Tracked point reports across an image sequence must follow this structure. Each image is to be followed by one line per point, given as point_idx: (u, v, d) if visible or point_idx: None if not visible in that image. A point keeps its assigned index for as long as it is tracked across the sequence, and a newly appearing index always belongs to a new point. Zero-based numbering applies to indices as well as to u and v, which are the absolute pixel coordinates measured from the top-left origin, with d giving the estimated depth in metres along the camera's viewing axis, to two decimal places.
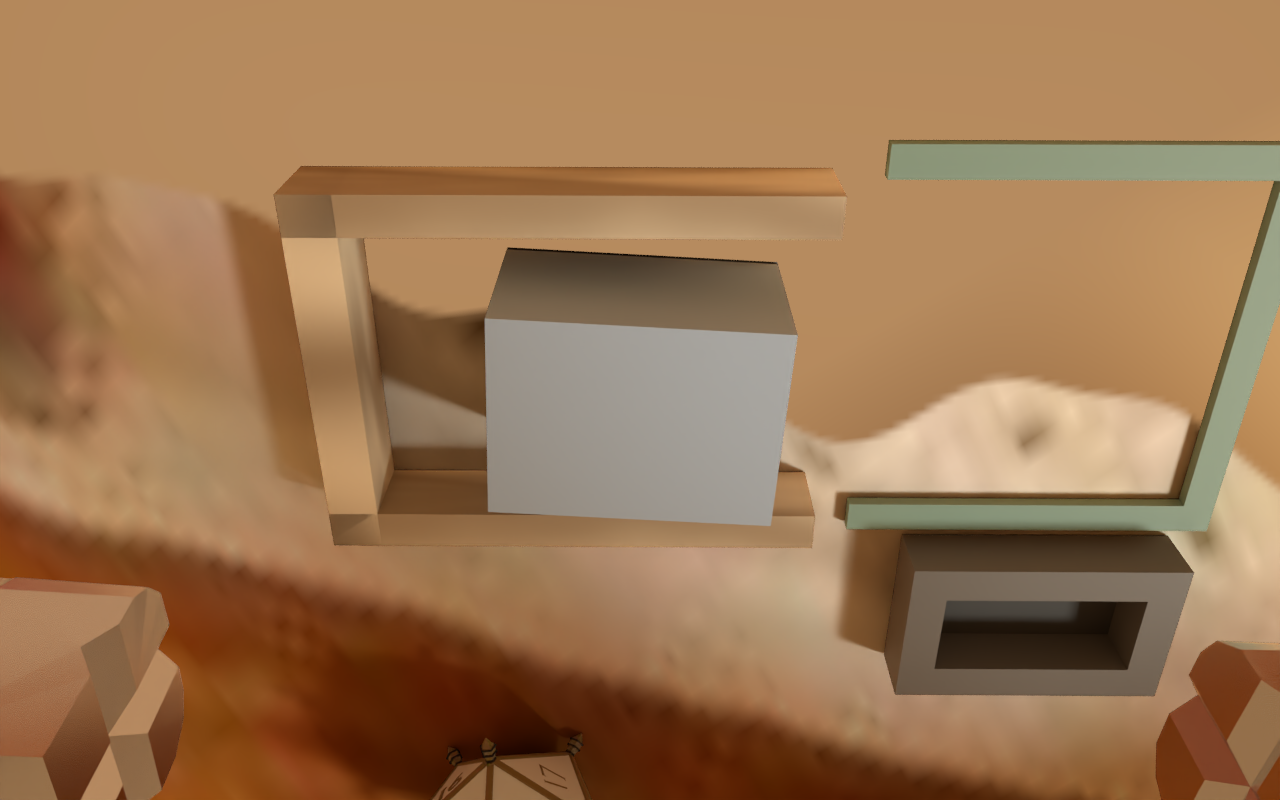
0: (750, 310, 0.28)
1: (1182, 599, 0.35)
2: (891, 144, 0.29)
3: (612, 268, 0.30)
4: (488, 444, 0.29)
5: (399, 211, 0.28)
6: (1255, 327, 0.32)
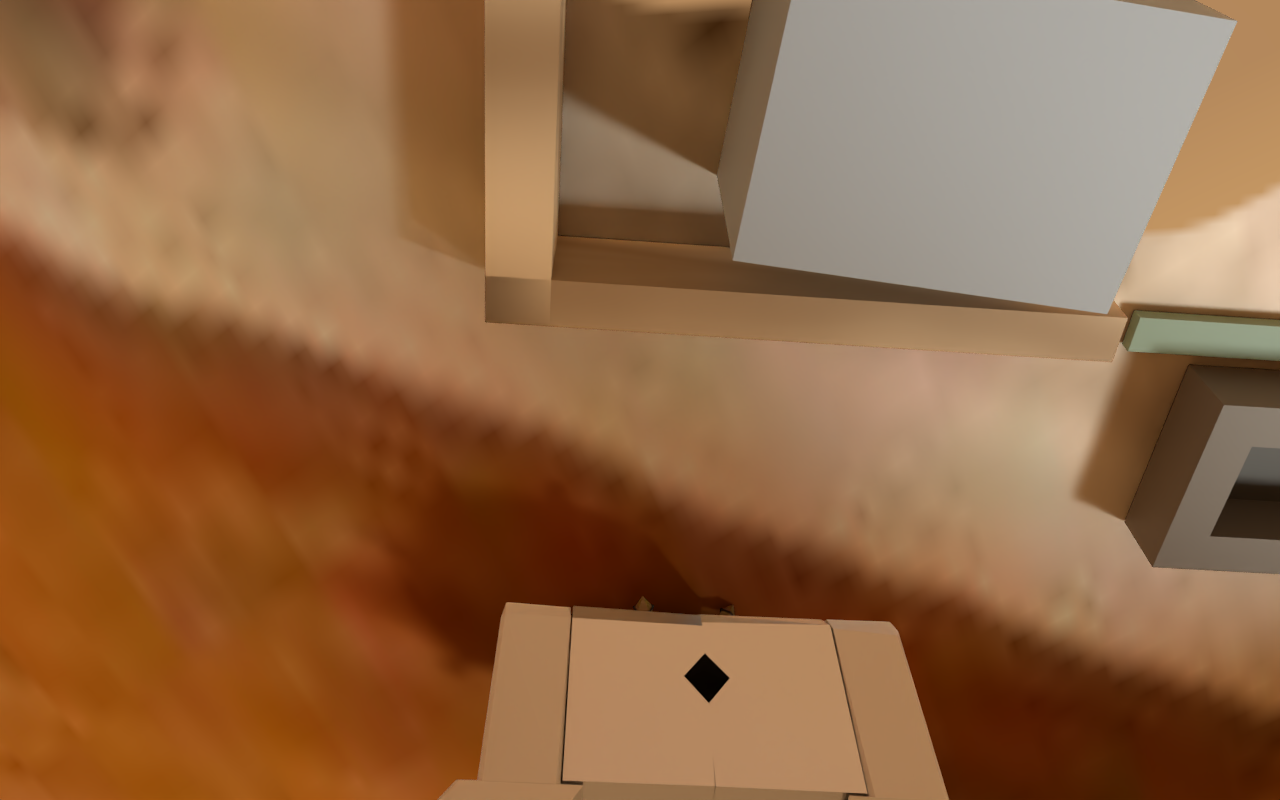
0: None
1: None
2: None
3: None
4: (758, 155, 0.20)
5: None
6: None
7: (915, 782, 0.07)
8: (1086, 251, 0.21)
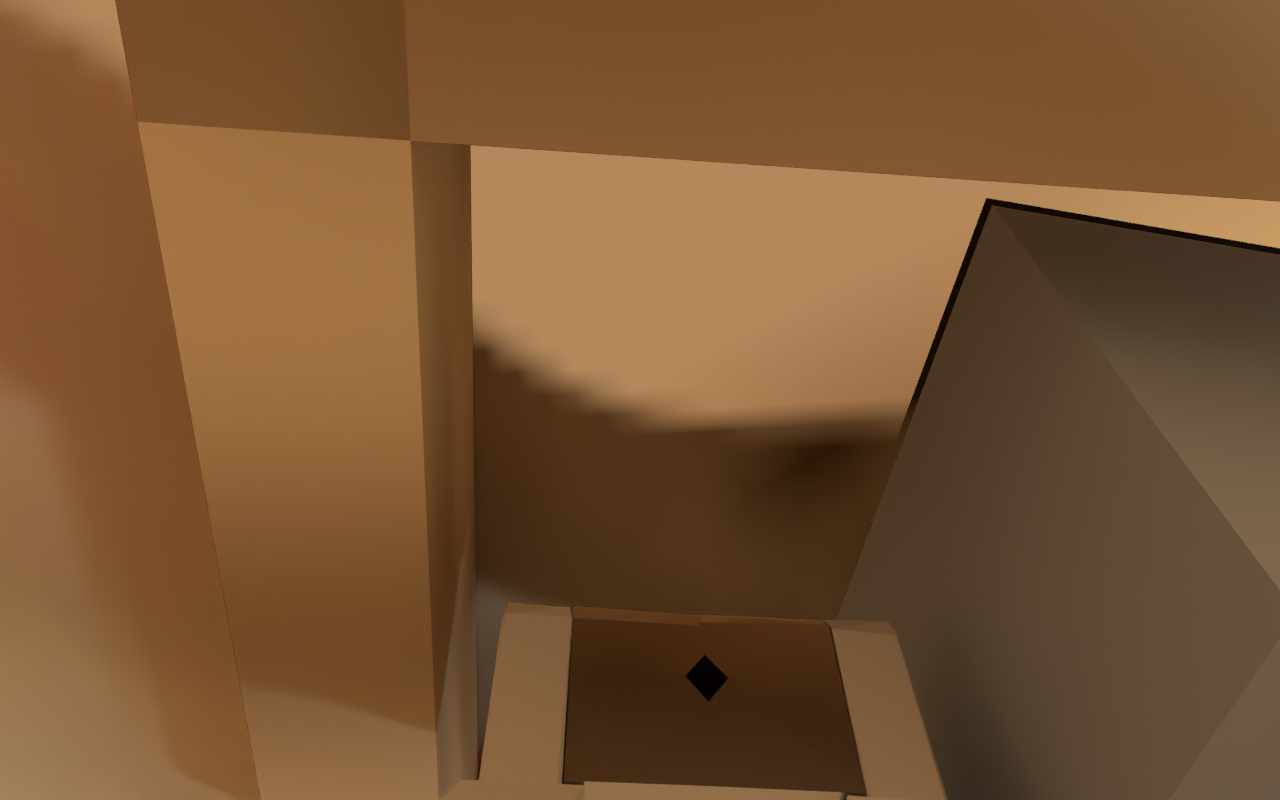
0: None
1: None
2: None
3: None
4: None
5: (738, 27, 0.06)
6: None
7: (913, 782, 0.07)
8: None
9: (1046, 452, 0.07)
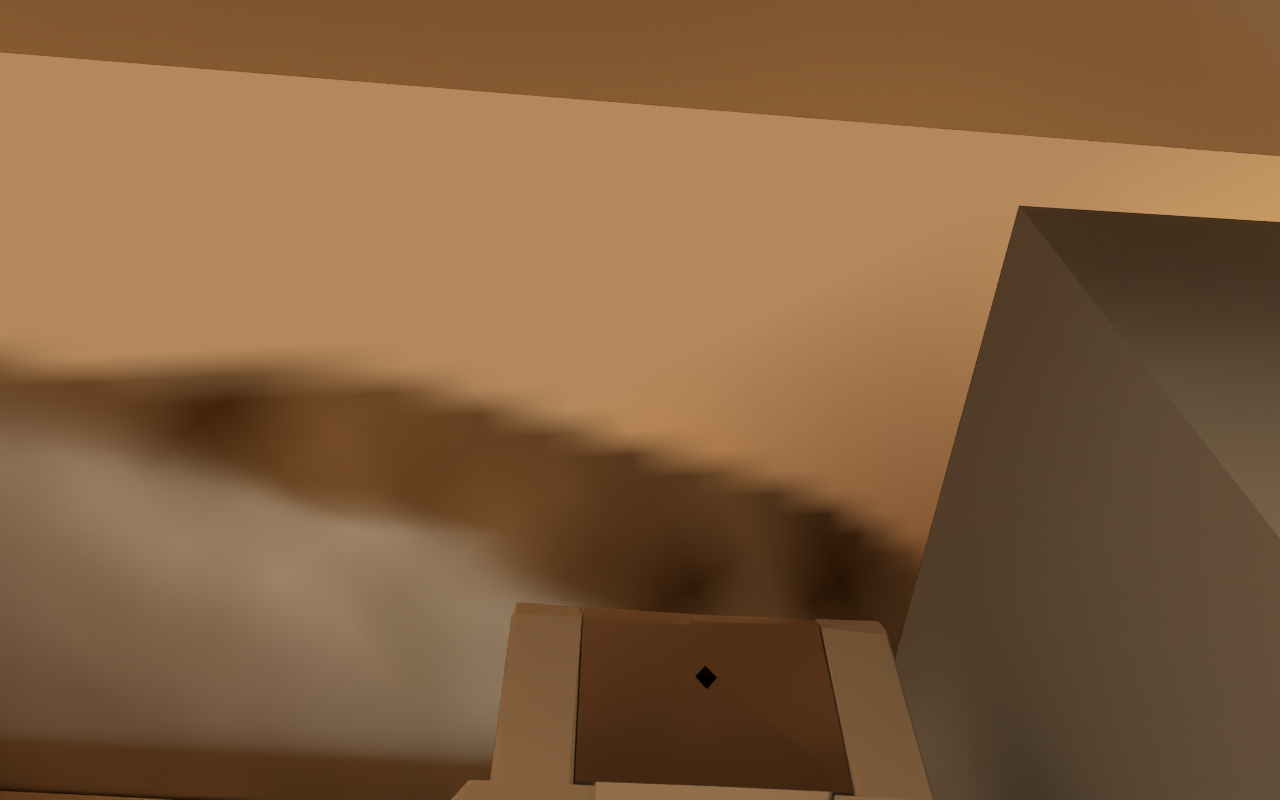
0: None
1: None
2: None
3: None
4: None
5: None
6: None
7: (901, 781, 0.07)
8: None
9: (1106, 496, 0.06)
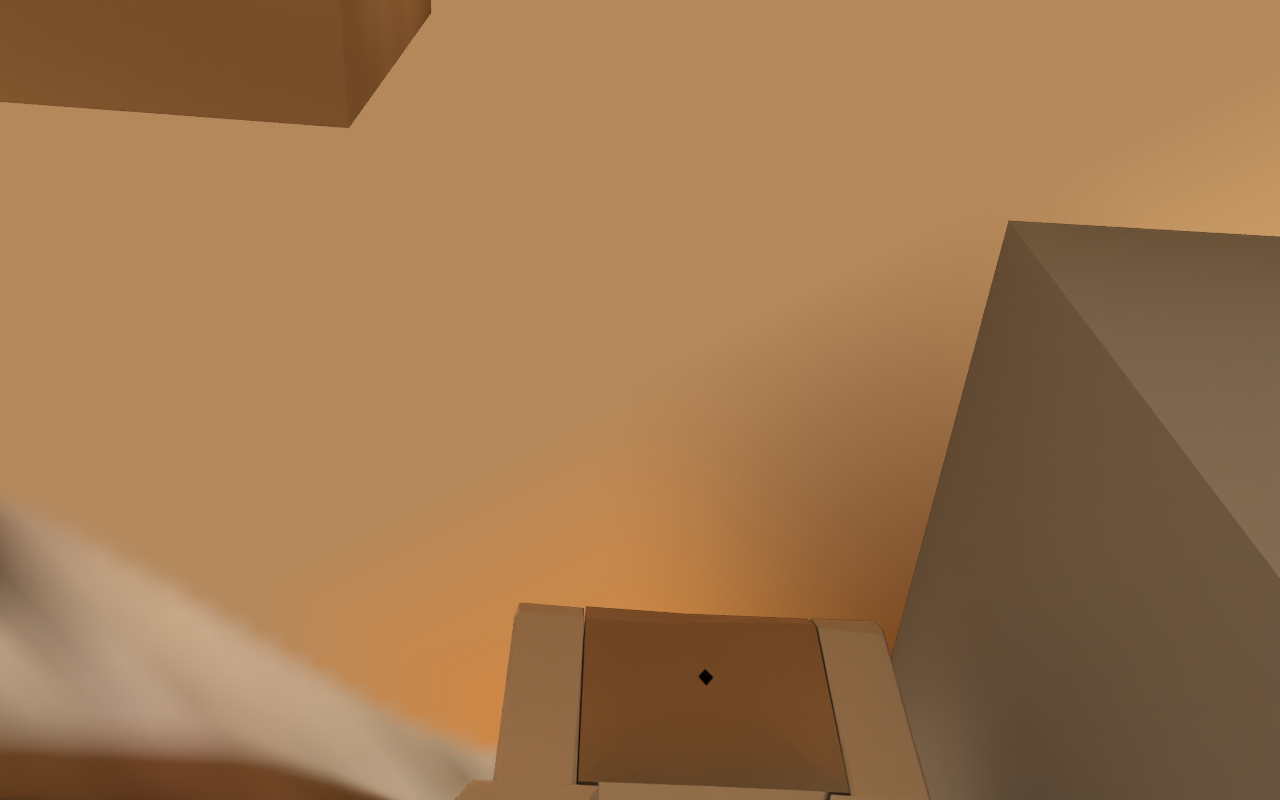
0: None
1: None
2: None
3: None
4: None
5: None
6: None
7: (897, 781, 0.07)
8: None
9: (1097, 512, 0.07)
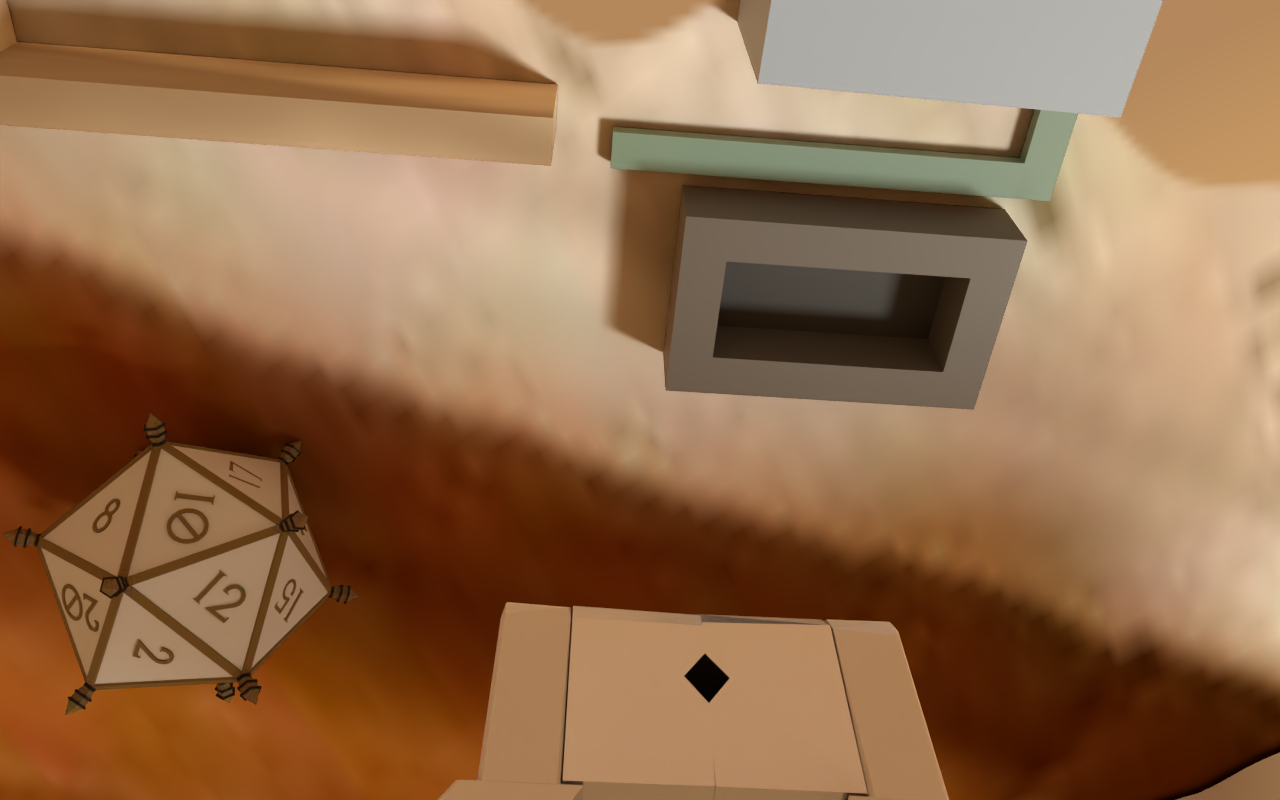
0: None
1: (1012, 279, 0.29)
2: None
3: None
4: None
5: None
6: None
7: (915, 782, 0.07)
8: (1097, 53, 0.22)
9: None
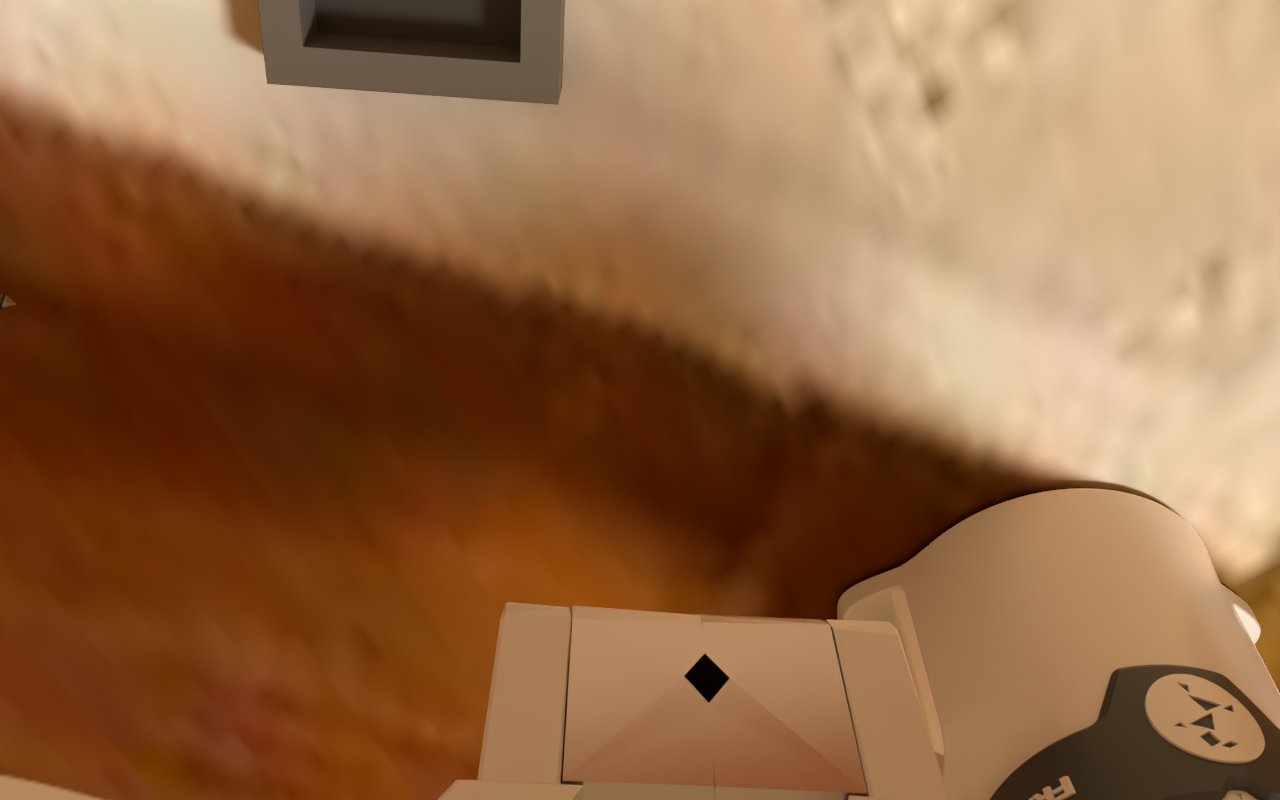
0: None
1: None
2: None
3: None
4: None
5: None
6: None
7: (915, 782, 0.07)
8: None
9: None
